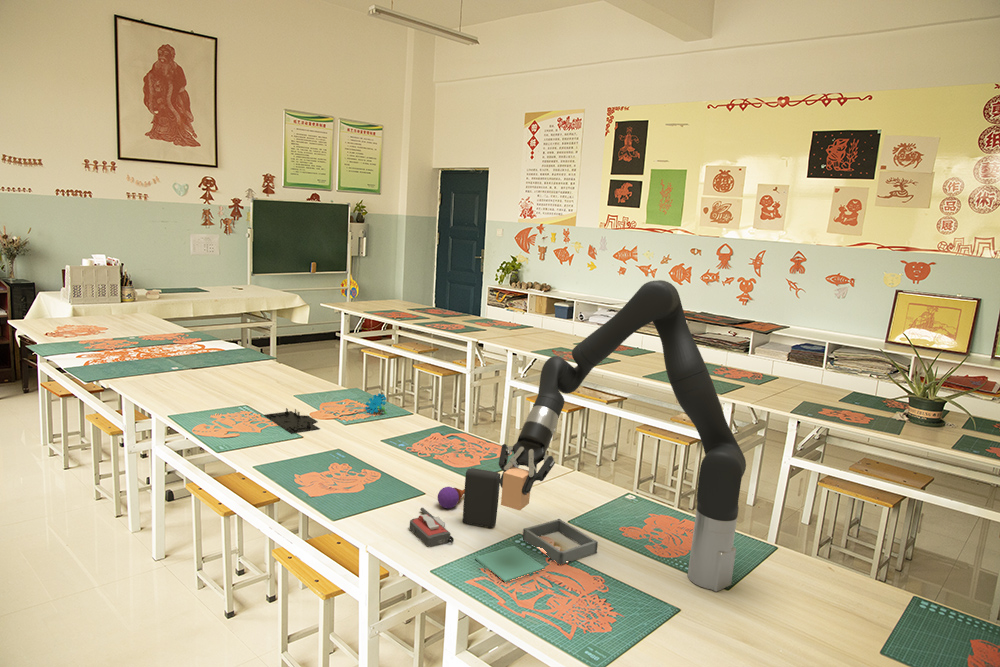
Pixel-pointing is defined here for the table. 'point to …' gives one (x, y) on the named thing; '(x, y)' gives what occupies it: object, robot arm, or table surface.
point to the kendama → (449, 496)
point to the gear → (376, 404)
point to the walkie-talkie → (430, 530)
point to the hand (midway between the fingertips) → (513, 489)
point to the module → (514, 488)
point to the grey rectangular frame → (586, 542)
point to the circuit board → (293, 421)
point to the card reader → (481, 497)
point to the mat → (509, 563)
